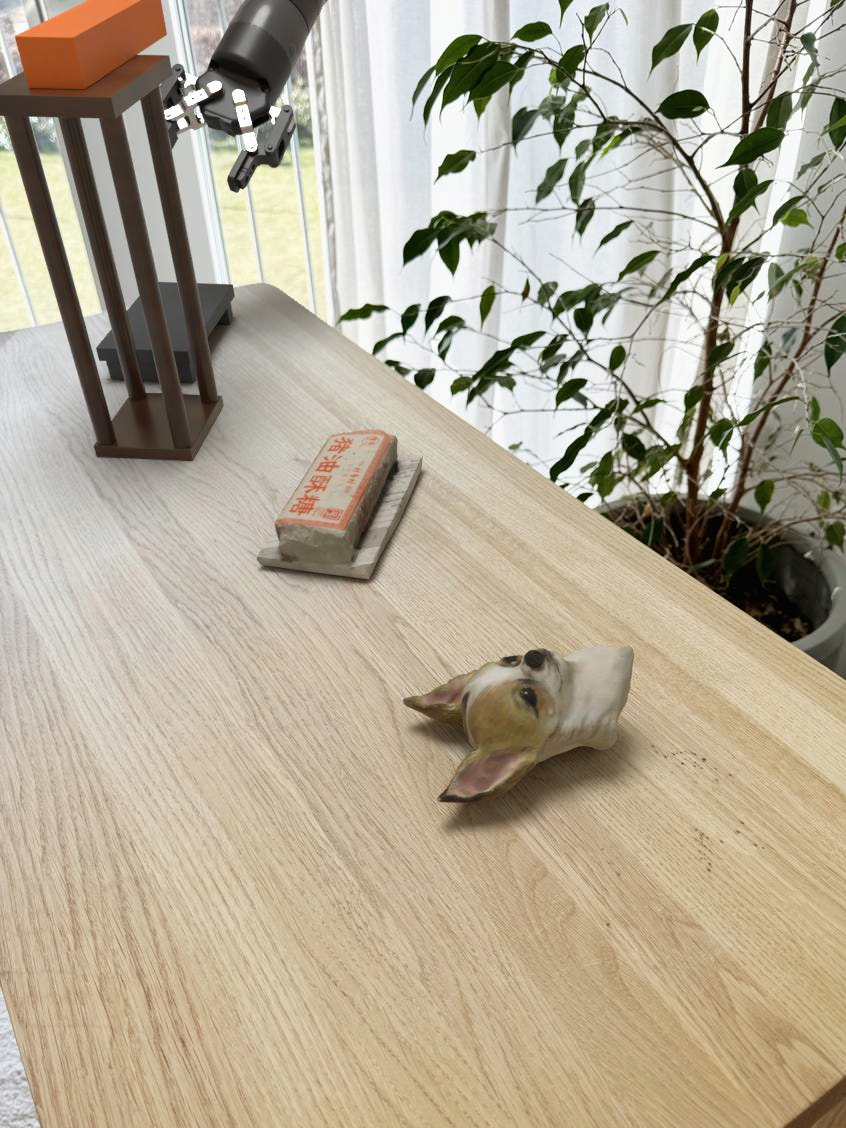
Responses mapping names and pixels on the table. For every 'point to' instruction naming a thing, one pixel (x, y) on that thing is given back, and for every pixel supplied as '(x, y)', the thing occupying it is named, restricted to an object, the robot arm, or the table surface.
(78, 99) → the tall stand
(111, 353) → the low shelf
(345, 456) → the packaged product
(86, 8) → the orange block
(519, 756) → the ceramic sculpture
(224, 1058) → the table surface
